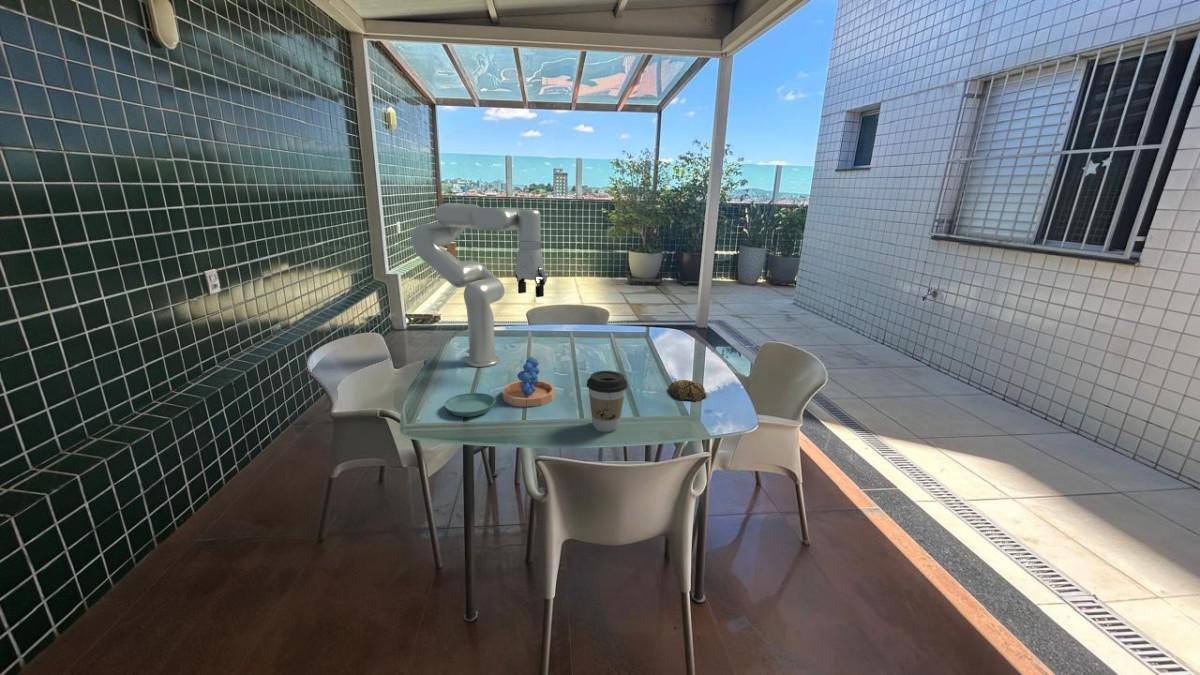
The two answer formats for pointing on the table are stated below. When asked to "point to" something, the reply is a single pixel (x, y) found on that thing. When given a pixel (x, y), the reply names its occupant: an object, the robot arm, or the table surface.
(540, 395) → the platter
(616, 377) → the coffee cup
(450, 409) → the saucer
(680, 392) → the bread roll
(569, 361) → the table surface
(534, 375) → the grapes
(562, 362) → the table surface
